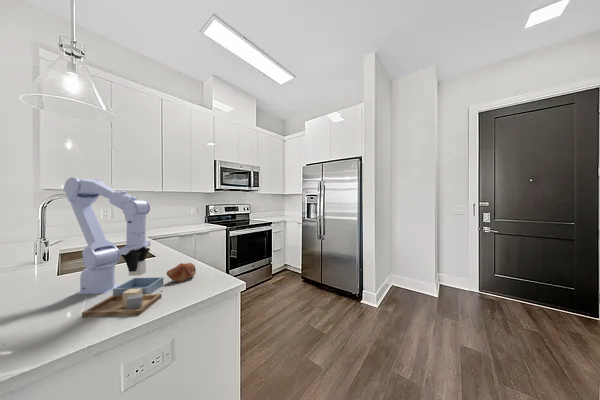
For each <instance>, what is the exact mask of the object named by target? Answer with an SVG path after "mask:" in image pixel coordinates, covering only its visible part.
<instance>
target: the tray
mask: <svg viewBox="0 0 600 400" xmlns="http://www.w3.org/2000/svg"><path fill="white" fill-rule="evenodd" d="M161 298H162V293H151V294H143V306H142V307H141V308H139V309H128V310H127V307H122V300H123V295H113V294H112V295H111V296H109V297H107V298H105V299H103V300H102V301H100V302H98V303H96V304H95V305H93V306H91V307H90V308H88V309H86V310H84V311H82V312H81V317H82V318H87V317H92V318H93V317H113V316H114V317H118V316H119V317H120V316H121V317H122V316H140V315H142V314H143V313H144V312H145V311H147V309H150V307H152V306H153V305H154V304H155V303H157V302H158V301H159V300H160V299H161Z"/></svg>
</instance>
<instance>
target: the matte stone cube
mask: <svg viewBox="0 0 600 400" xmlns="http://www.w3.org/2000/svg"><path fill="white" fill-rule="evenodd" d="M142 306H143V294H138V295H131V296H129V297H128V299H127V310H128V309H139V308H141V307H142Z"/></svg>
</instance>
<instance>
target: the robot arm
mask: <svg viewBox="0 0 600 400" xmlns="http://www.w3.org/2000/svg"><path fill="white" fill-rule="evenodd" d="M63 191H64V193H65V196H66V198H67V200H68V202H70V206H71V208H72V211H73V213H74V216H75V218H76V220H77V222H78V225H79V228H80V229H81V233H82V234H83V237H84V239H85V241H86V243H87V246H85V248H84V249H83V250H82V251H81V255H82V263H83V265H84V267H85V268H84V269H83V270H82V271H81V273H80V276H79V277H80V278H79V279H80V280H79V281H80V282H79V289H80V290H79V292H78V293H77V295H78V294H79V295H86V294H107V293H109V292H111V291H113V289H114V288H116V287H118V286H119V285H120V284H116V282H115V281H116V265H118V262H119V261H120V259H121V257H122V258H123V259H124V262H125V263H126V266H127V269H128V273H129V272H135V271H136V269H137V263H138V261H146V259H147V255H148V254H149V252H150V247H151V240H147V239H146V238H147V237H146V236H147V234H146V232H147V214H149V212H150V210H151V206H150V204H149V202H148V201H147V199H140V200H139V199H137V197H136V196H132V195H130V194H129V193H128V192H127V191H125V190H115V189H113V188H111V187H110V186H108V185H107V184H105V181H102V180H101V179H88V178H78V177H77V178H76V177H73V176H71V177H69V178H67V180H66V181H65V182H64V186H63ZM100 196H102V197H103V198H107V199H108V200H109V203H110V204H111V205H113V206H114V207H116V208H118V209H120V210H122V213H123V215H124V219H125V221H126V243H125V244H126V245H125V246H122V247H121V248H118V247H117V246H116V244H115V243H114V242H113V241H110V240H108V239H106V236H105V234H104V231H103V230H102V227H101V225H100V222H99V221H98V217H97V216H96V213H95V210H94V208H93V206H92V204H93V203H95V202H96V201H97V200H98V199H99V197H100Z"/></svg>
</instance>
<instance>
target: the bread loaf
mask: <svg viewBox="0 0 600 400" xmlns="http://www.w3.org/2000/svg"><path fill="white" fill-rule="evenodd" d="M196 270H197V269H196V265H195V264H193V263H192V262H187V263H179V264H178V265H176V266H175V267H172V268H171V269H169V270H167V272H166V275H167V277H168V278H169V279H171V280H172V281H174V282H175V283H176V282H177V283H182V282H185V281H186V280H187V279H188V278H189V279H191V278H193V277H194V276H195V274H196Z"/></svg>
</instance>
